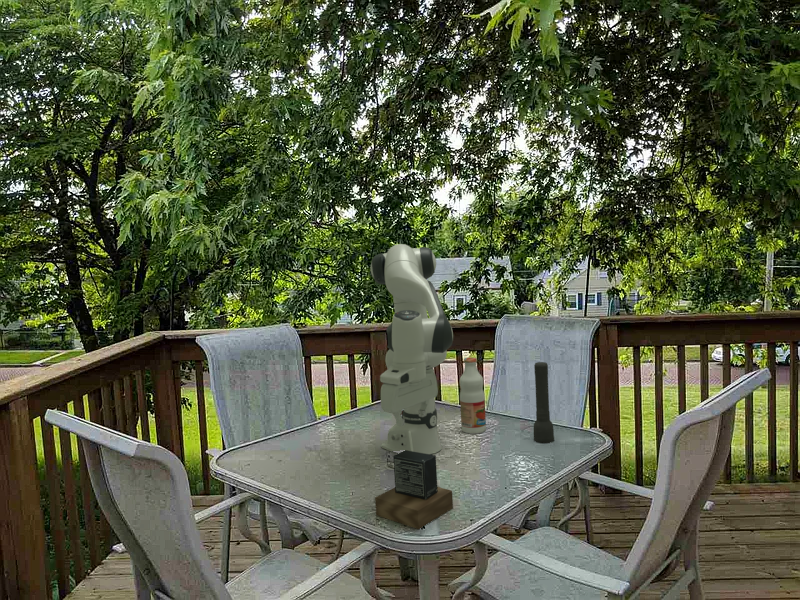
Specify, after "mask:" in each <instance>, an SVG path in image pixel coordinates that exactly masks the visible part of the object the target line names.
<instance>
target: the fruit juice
mask: <svg viewBox="0 0 800 600" xmlns="http://www.w3.org/2000/svg"><path fill="white" fill-rule="evenodd" d="M477 362H478V359H477V358H476V357H464V359H463V364H464V369H463V372H462V375H461V376H460V378H459V386H460V391H459V404H460V406H459V407H460V422H461V425H460V426H461V431H462V432H463V433H465V434H471V435H474V434H480V433H481V434H482V433H484V432H486V429H487V421H486V420H487V419H486V417H487V416H486V399H485V397H486V396H485V391H484V389H483V387H484V378H483V376H482V375H481V374H480V372H479V369H478V366H477Z"/></svg>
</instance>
